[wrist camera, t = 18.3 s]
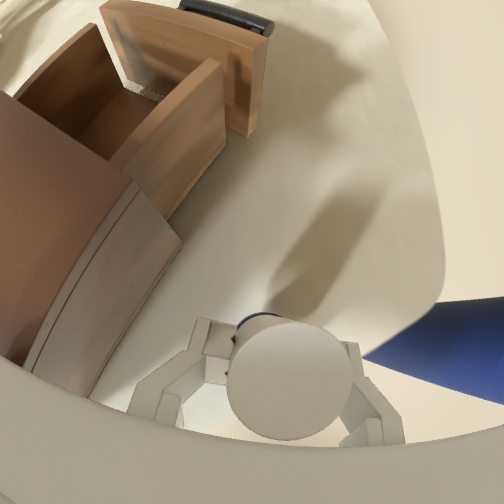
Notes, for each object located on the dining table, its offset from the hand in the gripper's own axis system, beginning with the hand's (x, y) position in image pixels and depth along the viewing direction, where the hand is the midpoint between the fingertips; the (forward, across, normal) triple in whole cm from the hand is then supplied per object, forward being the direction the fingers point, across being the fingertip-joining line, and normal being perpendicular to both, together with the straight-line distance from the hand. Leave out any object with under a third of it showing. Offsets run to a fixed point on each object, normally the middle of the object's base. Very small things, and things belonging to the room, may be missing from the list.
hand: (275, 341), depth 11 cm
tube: (+3, 0, +4) cm, 5 cm away
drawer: (+11, +10, -4) cm, 15 cm away
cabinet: (+4, +14, +4) cm, 15 cm away
